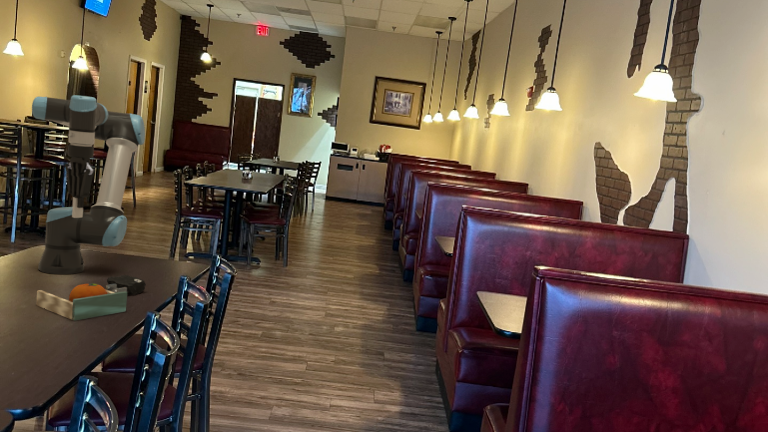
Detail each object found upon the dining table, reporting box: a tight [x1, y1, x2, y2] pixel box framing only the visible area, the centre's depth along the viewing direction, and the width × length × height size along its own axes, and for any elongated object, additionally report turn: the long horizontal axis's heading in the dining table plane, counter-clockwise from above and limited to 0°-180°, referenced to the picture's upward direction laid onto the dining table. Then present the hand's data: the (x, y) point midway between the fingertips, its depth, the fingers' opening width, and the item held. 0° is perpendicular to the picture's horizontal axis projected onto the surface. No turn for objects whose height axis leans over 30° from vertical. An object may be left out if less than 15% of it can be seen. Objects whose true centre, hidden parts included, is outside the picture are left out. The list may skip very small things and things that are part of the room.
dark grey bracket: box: [105, 284, 127, 293], centre depth 205 cm, size 6×4×6 cm, turn 58°
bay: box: [35, 288, 128, 322], centre depth 196 cm, size 19×17×6 cm
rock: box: [106, 274, 147, 296], centre depth 219 cm, size 9×10×6 cm
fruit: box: [68, 283, 108, 302], centre depth 194 cm, size 11×10×8 cm
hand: (77, 217), depth 210 cm, fingers closed
